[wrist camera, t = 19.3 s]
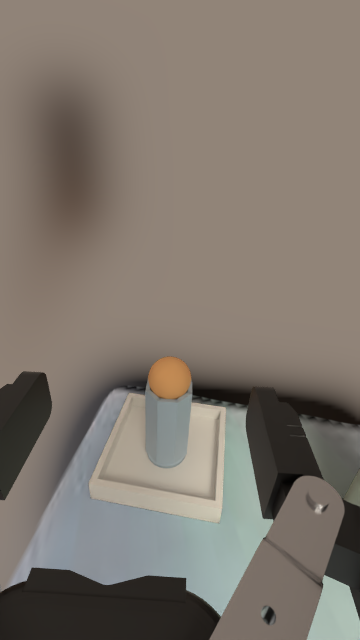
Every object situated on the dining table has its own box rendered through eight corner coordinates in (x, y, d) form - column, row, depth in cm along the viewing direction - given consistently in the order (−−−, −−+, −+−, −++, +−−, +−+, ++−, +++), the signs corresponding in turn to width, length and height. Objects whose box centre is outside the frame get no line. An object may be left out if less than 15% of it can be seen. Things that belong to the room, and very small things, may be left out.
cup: (186, 435, 46) (192, 372, 40) (185, 469, 41) (192, 403, 35) (149, 433, 46) (149, 369, 40) (144, 466, 41) (143, 400, 35)
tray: (129, 406, 52) (128, 392, 50) (223, 421, 50) (225, 407, 49) (90, 498, 38) (88, 483, 37) (219, 523, 36) (222, 509, 35)
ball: (178, 376, 41) (179, 344, 39) (197, 401, 37) (200, 367, 35) (142, 387, 39) (141, 354, 37) (158, 415, 35) (159, 380, 33)
